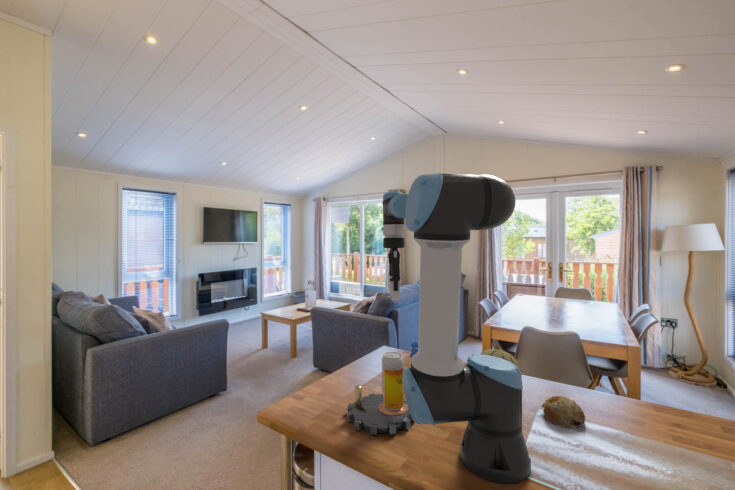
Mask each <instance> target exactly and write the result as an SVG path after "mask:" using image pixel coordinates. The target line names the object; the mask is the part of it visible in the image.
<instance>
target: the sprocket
mask: <svg viewBox="0 0 735 490" xmlns="http://www.w3.org/2000/svg"><path fill="white" fill-rule="evenodd" d="M346 420H347V423H353V424H354V425H353V426H354V429H355V430H357V431H361V430H363V431H366V432H369V434H370V435H374V436H375V435H376V436H377V435H378V434H388V435H394V434H395V435H396V434H397V431H401V430H402V429H404V430H408V429H410V428H411V421H412V422H415V421H414V420H413V419H412V417H411V415H410V412H409V409H408V406H407V403H406V399H405V397H404V405H403V407H402V408H401V409H400V410H398V411H389V410H386V409H385V408H384V406H383V405H382V393H380V394H379V393H378V394H376V393H374V392H373V393H368V395H366V396H363V386H362V385H360V384H357V385H355V386H354V402H353V403H350V402H349V403H348V405H347V412H346Z"/></svg>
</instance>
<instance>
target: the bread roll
mask: <svg viewBox="0 0 735 490" xmlns="http://www.w3.org/2000/svg"><path fill="white" fill-rule="evenodd" d="M541 408H543V411H542V413H544V414H543V415H544V417H545V418H546V419H547V420H548V422H551V423H552V424H555V425H557V426H559V427H562V428H568V429H571V430H574V429H576V428H577V429H578V428H579V427H581V426H583V425H584V424H585V423H586V415H585V413H584V411H583V409H582V408H581V406H580V405H579V404H578V403H577V402H576V401H575V400H573V399H571V398H569V397H566V396H560V395H559V396H558V395H556V396H552V397H549V398H547V399H545V402H544V403H542V405H541Z"/></svg>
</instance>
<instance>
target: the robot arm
mask: <svg viewBox="0 0 735 490" xmlns="http://www.w3.org/2000/svg"><path fill="white" fill-rule="evenodd" d="M515 207H516V195H515V193H514V191H513V189H512V187H511V186H510V185H509V184H508V183H507V182H506V181H505V180H504V179H502V178H499V177H497V176H495V175H491V174H465V173H462V174H459V173H440V172H439V173H428V174H427V173H425V174H421V175H419V176H417V177H416V178H415V179H414V181H413V182H412V183H411V185H410V189H409V190H408V193H405V192H404V193H403V192H400V191H389V192H384V194H383V195H382V224H383V227H381V229H380V230H381V231H383V232H382V233H383V234H382V235H383V236H384V237H383V239H382V243H383V244H382V247H383V248H384V249H389V251H388V252H389V253H387V257H388V258H387V259H388V265H389V266H388V269H389V271H388V276H389V277H388V279H389V282H388V283H389V285H388V287H389V295H391V301H393V302H397V301H398V302H399V301H401V297H400V296H401V295H400V293H401V285H400V283H401V282H400V280H401V273H400V271H401V270H400V269H401V268H400V259H401V253H400V250H399V249H404V248H405V244H406V243H405V241H406V240H405V239H406V238H405V237H404V236H406V235H405V234H406V233H405V230H406V228H407V230H409V231H410V232H413V240H414V241H415V242H416V243H417V244H418V246H419V247H420V260H419V263H420V265H419V266H420V267H419V296H418V297H419V300H418V301H419V304H418V309H419V310H418V336H417V337H418V341H417V342H418V352H417V353H416V354H414V355H413V356H412V358H410V367H406V368H403V373H402V381H403V395H404V398H405V401H406V403H407V406H408V409H409V412H410V415H411V417H412V419H413V420H414V421H413V422H415V424H417V425H421V426H423V425H432V426H436V425H438V424H439V425H440V424H448V423H459V422H467V424H466V427H465V430H464V433H463V436H462V438H461V442H460V450H459V451H460V459H461V462H462V463H463V465H464V466H465V467H466V469H468V470H469V471H470V472H471V473H473V474H475V475H476V476H478V477H479V478H482V479H484V480H487V481H490V482H494V483H499V484H515V483H516V484H517V483H520V482H521V481H524V480H526V479H527V478H528V477H529V476H530V474H531V472H532V459H531V454H530V452H529V449H528V447H527V443H526V440H525V436H524V433H523V390H524V386H523V378H522V377H523V376H522V377H521V372H522V371H521V372H520V370H519V368H518V367H517V366H516V365H514V364H513V363H511V362H509V361H507V360H504V359H501V358H498V357H494V356H490V355H482V354H481V353H479V354H478V353H476V354H471V355H469V356H468V357H467V359H466V364H465V363H464V360H463V358H461V357H460V356H459V335H460V334H459V333H460V307H461V287H462V286H461V284H462V283H461V281H462V256H463V248H464V246H465V245H467V244H468V243H469V242H470V241H471V231H485V230H493V229H495V228H497V227H499V226H502V225H503V224H505V223H506V222H507V221H508V220H509V219H510V218H511V216H512V215H513V213H514V211H515ZM405 226H406V227H405Z"/></svg>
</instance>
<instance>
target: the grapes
mask: <svg viewBox="0 0 735 490" xmlns="http://www.w3.org/2000/svg"><path fill="white" fill-rule="evenodd" d="M410 346H411V350H410V354H409V355H408V356H409V358H410V359H411V358H412V356H413V355H414V354H416V353H417V352H418V341H417V340H415V341H413V342H412V343H411V344H410Z"/></svg>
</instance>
